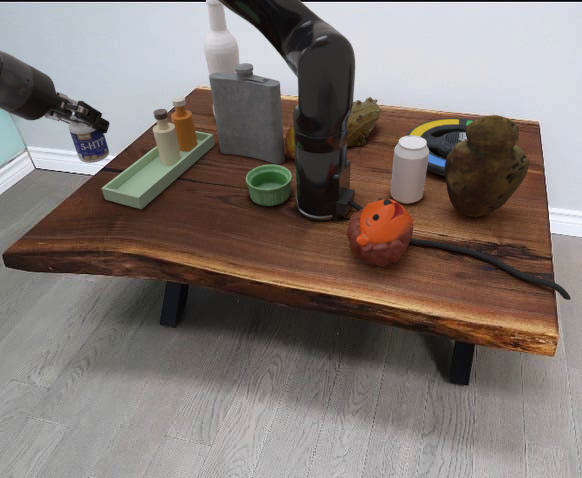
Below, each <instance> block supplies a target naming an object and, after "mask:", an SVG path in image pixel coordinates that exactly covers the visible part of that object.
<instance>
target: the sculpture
mask: <svg viewBox="0 0 582 478" xmlns="http://www.w3.org/2000/svg"><path fill="white" fill-rule="evenodd" d="M473 120H474V121H472V122H471V123H470V124H469V125H468V126H467V127H466V128H465V132H466V137H467V139H466V140H464V141H462V142H459V143H458V144H456V146H455V147H454V148H453V149H452V151H451V152H450V153H449V154H448V155H447V158H446V162H445V169H444V173H445V176H444V179H445V180H444V181H445V184H446V190H447V195H448V198H449V201H450V203H451V205H452V207H453V208H454V209H455V210H456V211H457V212H459V213H461V214H463V215H465V216H467V217H472V218H477V217H482V216H487V215H490V214H492V213H494V212H496V211H498V210H499V209H501V207H503V206H504V205H505V204H506V203H507V201H508V200H509V199H510V198H511V197H512V196H513V194H514V193H515V192H516V191H517V189H518V188H519V187H520V186H521V184H522V183H523V181H524V179H525V178H526V176H527V173H528V170H529V167H530V159H529V158H528V156H527V154H526V152H525V151H524V149H523V148H521V147H520V146H518V145H517V143H518V141H519V138H520V137H519V136H520V135H519V134H520V130H519V125H517V124H516V122H514V121H513V120H512V119H510V118H508V117H506V116H502V115H497V114H491V115H485V116H481V117H479V118H478V117H477V118H476V119H473ZM515 144H516V145H515Z"/></svg>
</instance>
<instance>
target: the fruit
mask: <svg viewBox="0 0 582 478" xmlns="http://www.w3.org/2000/svg"><path fill="white" fill-rule="evenodd" d="M284 147H285V150H286V152H287V154H288V155H289V157H290V158H291V159H293V160H295V146H294V125H293V124H292V125H291V126H290V127H289V128H288V130H287V131H286V134H285V138H284Z"/></svg>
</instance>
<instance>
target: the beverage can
mask: <svg viewBox="0 0 582 478" xmlns="http://www.w3.org/2000/svg"><path fill="white" fill-rule="evenodd" d="M426 144H427V142H426V140H425V139H424V138H422V137H419V136H414V135H409V136H406V135H404V136H402V137H400V138H399V139H398V143H397V144H396V145H395V147H394V149H393V157H392V159H393V160H392V167H391V168H392V169H391V180H390V191H389V192H390V197H392V199H393V200H394V201H396V202H398V203H400V204H406V205H407V204H413V203H416V202H419V201H420V200H422V198H423V195H424V190H425V184H426V178H427V171H428V170H427V164H428V157H429V151H430V150H429V149H428V147H427V145H426Z"/></svg>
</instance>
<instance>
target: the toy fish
mask: <svg viewBox="0 0 582 478" xmlns="http://www.w3.org/2000/svg"><path fill="white" fill-rule="evenodd" d="M347 225H348V227H347V229H346V238H347V239H348V242H349V249H350V251H351V252H352V253H353V254H354V255H355V256H356V257H357V258H358V259H359V260H360V261H362V262H364V263H368V264H371V265H378V266H380V267H385V266H387V265H389V264H391V263H397V262H398V261H399V260H400V257H401V255H402V254H403V253H404V252H405V251H406V250H407V248H408V247H409V244H410V243H409V242H410V239H411V238H413V237H412V236H413V234H414V225H415V223H414V219H413V218H412V217H411V214H409V213H408V211H407V210H406V209H405V207H404V206H403V205H401V203H400V202H399V201H397V200H395V199H392V198H391V199H390V198H389V199H388V198H385V199H384V198H377V200H376V201H371V202H368V203H367V204H366V206H365V207H363V208H362V209H361V210H359V211H356V212H355V213H353V214H352V215H351V217H350V219H349V221H348V224H347Z"/></svg>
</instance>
